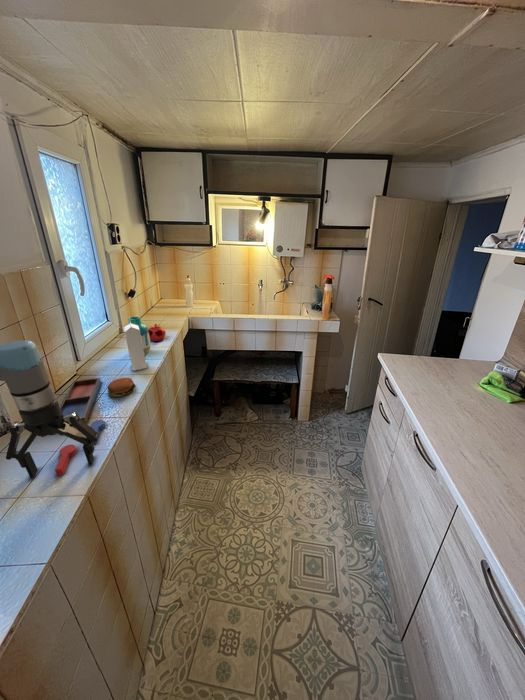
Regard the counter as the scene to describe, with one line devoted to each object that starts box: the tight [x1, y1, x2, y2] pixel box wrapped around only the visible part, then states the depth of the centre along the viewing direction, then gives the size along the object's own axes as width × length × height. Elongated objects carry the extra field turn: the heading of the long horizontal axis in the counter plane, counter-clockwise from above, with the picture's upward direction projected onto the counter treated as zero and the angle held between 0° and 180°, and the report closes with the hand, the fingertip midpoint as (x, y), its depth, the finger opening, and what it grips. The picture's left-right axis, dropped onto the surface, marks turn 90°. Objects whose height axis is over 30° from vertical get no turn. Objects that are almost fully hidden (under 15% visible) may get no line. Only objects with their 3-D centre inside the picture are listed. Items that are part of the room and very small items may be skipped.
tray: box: [59, 376, 102, 429], centre depth 104 cm, size 10×28×3 cm, turn 18°
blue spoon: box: [89, 419, 106, 445], centre depth 89 cm, size 4×10×2 cm, turn 18°
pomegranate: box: [148, 323, 167, 342], centre depth 159 cm, size 10×10×9 cm
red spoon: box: [54, 444, 78, 476], centre depth 79 cm, size 4×10×2 cm, turn 18°
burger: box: [107, 377, 137, 398], centre depth 110 cm, size 10×9×5 cm
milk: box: [123, 323, 148, 372], centre depth 126 cm, size 6×6×22 cm
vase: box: [127, 315, 151, 355], centre depth 139 cm, size 11×11×19 cm
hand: (63, 467), depth 77 cm, fingers open, 13 cm apart
